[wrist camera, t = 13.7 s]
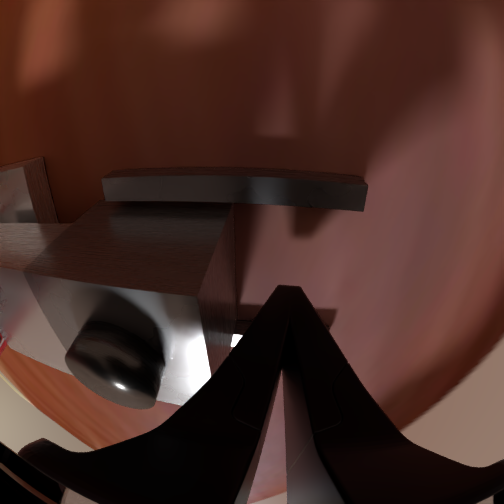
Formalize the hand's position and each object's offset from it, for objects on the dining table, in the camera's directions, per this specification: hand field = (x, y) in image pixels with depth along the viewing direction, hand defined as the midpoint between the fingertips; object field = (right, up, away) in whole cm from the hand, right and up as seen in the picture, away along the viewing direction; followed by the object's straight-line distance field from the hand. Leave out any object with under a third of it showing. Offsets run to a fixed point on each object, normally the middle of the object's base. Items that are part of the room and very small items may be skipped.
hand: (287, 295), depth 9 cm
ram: (-7, +1, +2) cm, 7 cm away
